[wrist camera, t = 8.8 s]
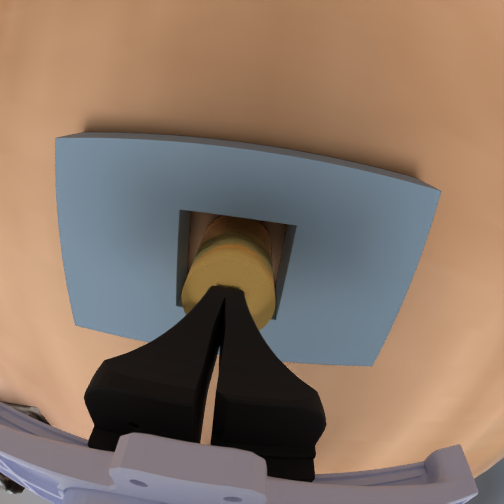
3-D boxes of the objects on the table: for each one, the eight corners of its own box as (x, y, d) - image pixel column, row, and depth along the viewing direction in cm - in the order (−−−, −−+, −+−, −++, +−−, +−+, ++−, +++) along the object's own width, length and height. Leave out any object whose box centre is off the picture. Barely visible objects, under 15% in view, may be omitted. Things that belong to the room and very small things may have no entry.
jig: (361, 337, 21) (372, 366, 19) (92, 300, 21) (75, 325, 18) (416, 178, 16) (441, 191, 14) (83, 132, 15) (55, 138, 13)
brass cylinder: (264, 278, 19) (267, 343, 14) (200, 270, 19) (181, 332, 14) (275, 217, 18) (283, 268, 12) (205, 208, 18) (182, 255, 12)
